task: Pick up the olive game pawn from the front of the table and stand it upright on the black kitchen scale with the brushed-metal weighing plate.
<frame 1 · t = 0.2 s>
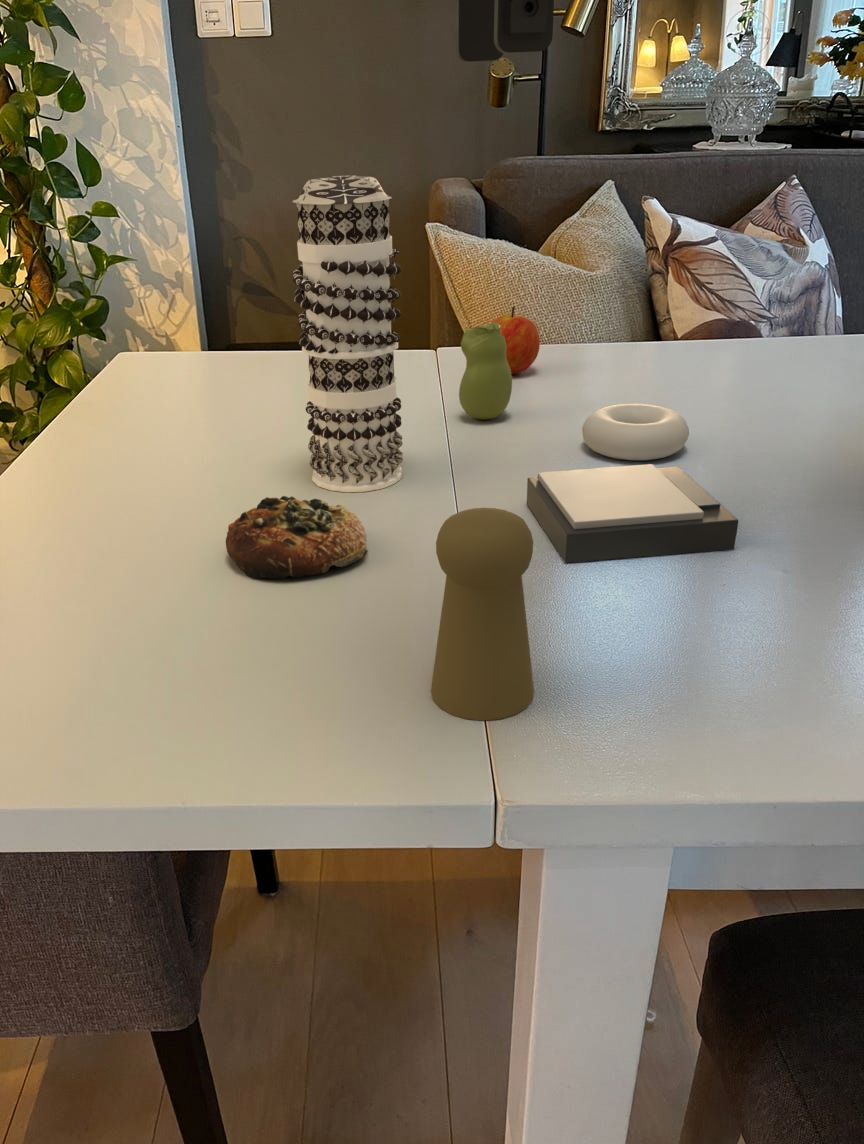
hand: (499, 57, 42), 32 cm above the table, tool pointing down, fingers open, 8 cm apart
donut: (633, 450, 92), on the table
scale: (624, 525, 76), on the table
olive game pawn: (482, 694, 56), on the table
fruit: (510, 374, 119), on the table
decorative candle: (358, 477, 88), on the table
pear: (484, 420, 103), on the table
bread roll: (299, 554, 74), on the table
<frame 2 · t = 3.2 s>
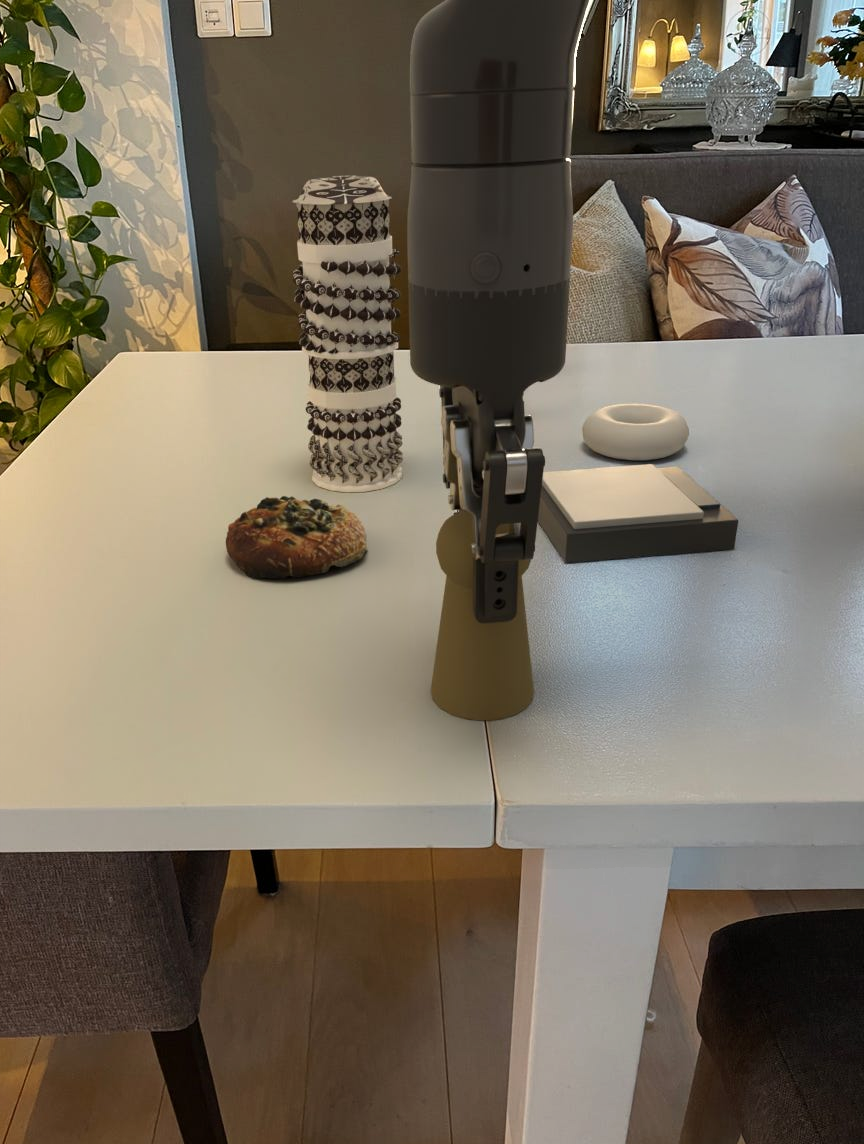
hand: (483, 593, 53), 6 cm above the table, tool pointing down, fingers closed on olive game pawn, 5 cm apart
olive game pawn: (482, 693, 56), on the table, touching gripper
everything else where it was.
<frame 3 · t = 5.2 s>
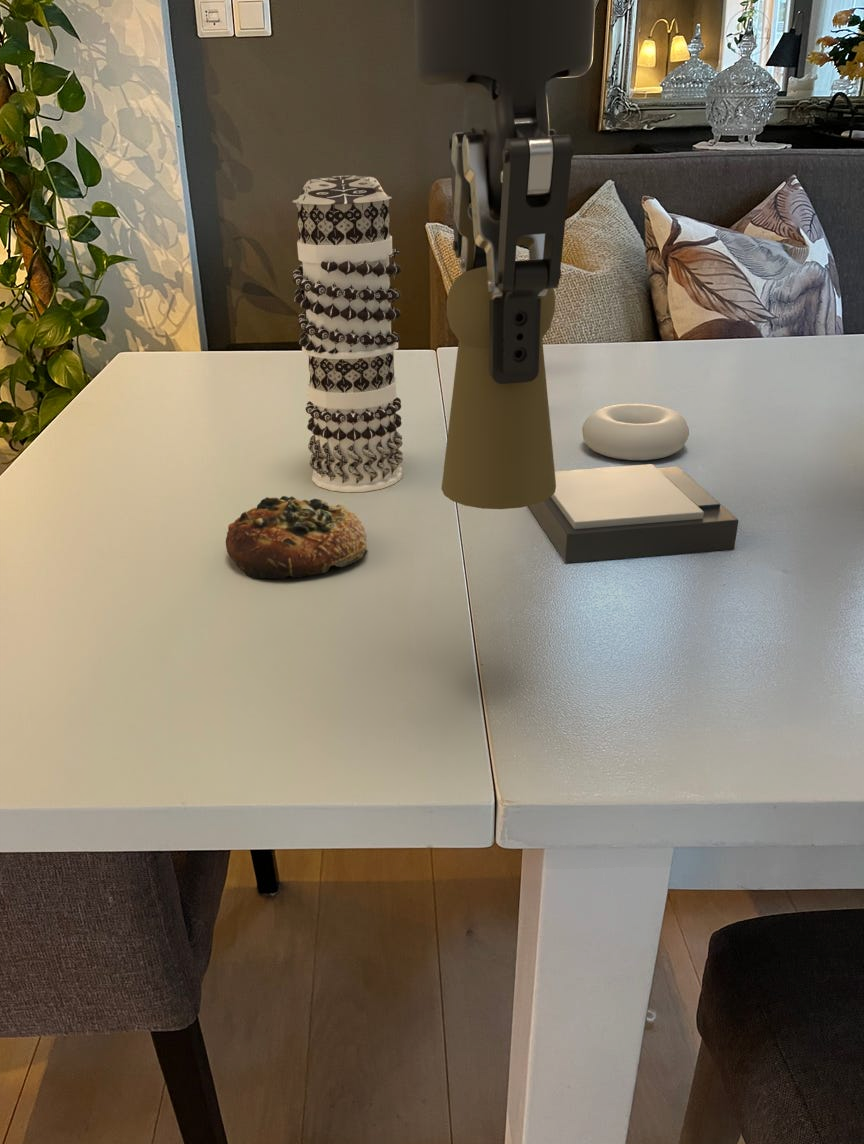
hand: (500, 364, 47), 19 cm above the table, tool pointing down, fingers closed on olive game pawn, 5 cm apart
olive game pawn: (498, 490, 51), point 12 cm above the table, touching gripper
everything else where it was.
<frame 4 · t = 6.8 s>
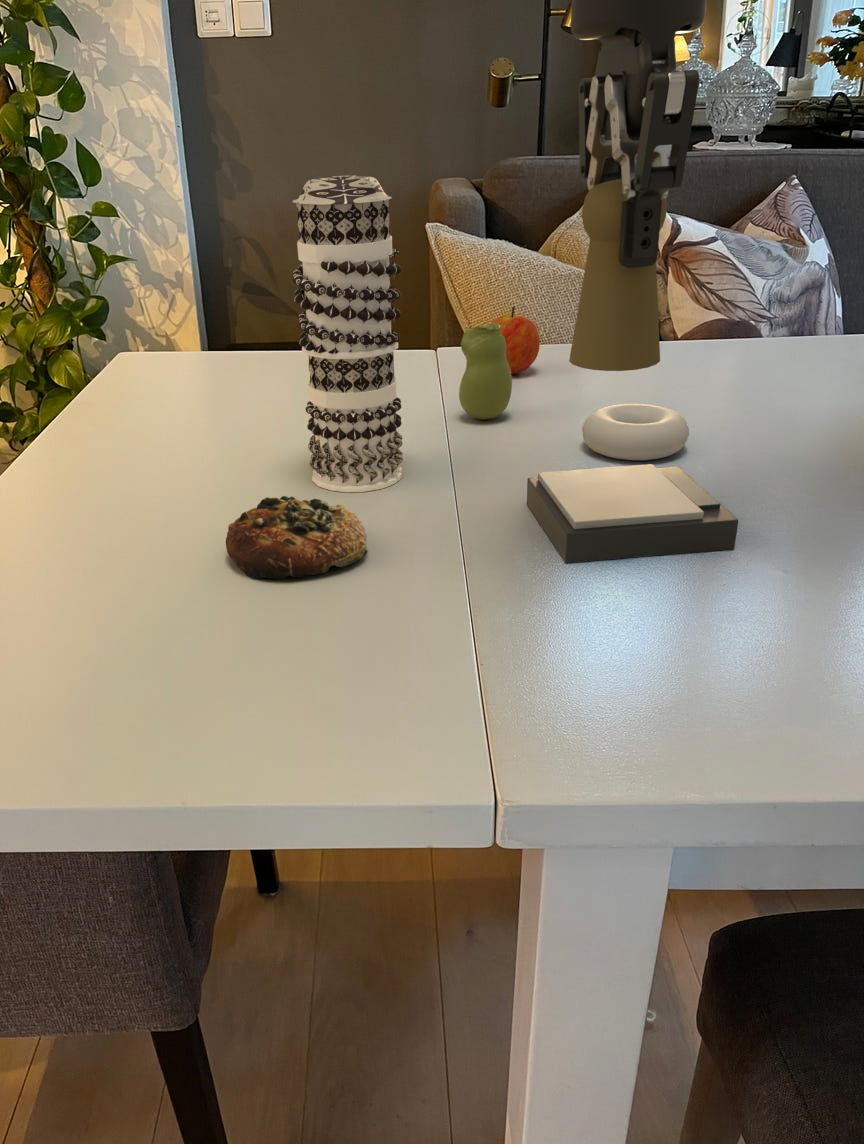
hand: (621, 258, 61), 21 cm above the table, tool pointing down, fingers closed on olive game pawn, 5 cm apart
olive game pawn: (614, 362, 65), point 14 cm above the table, touching gripper
everything else where it was.
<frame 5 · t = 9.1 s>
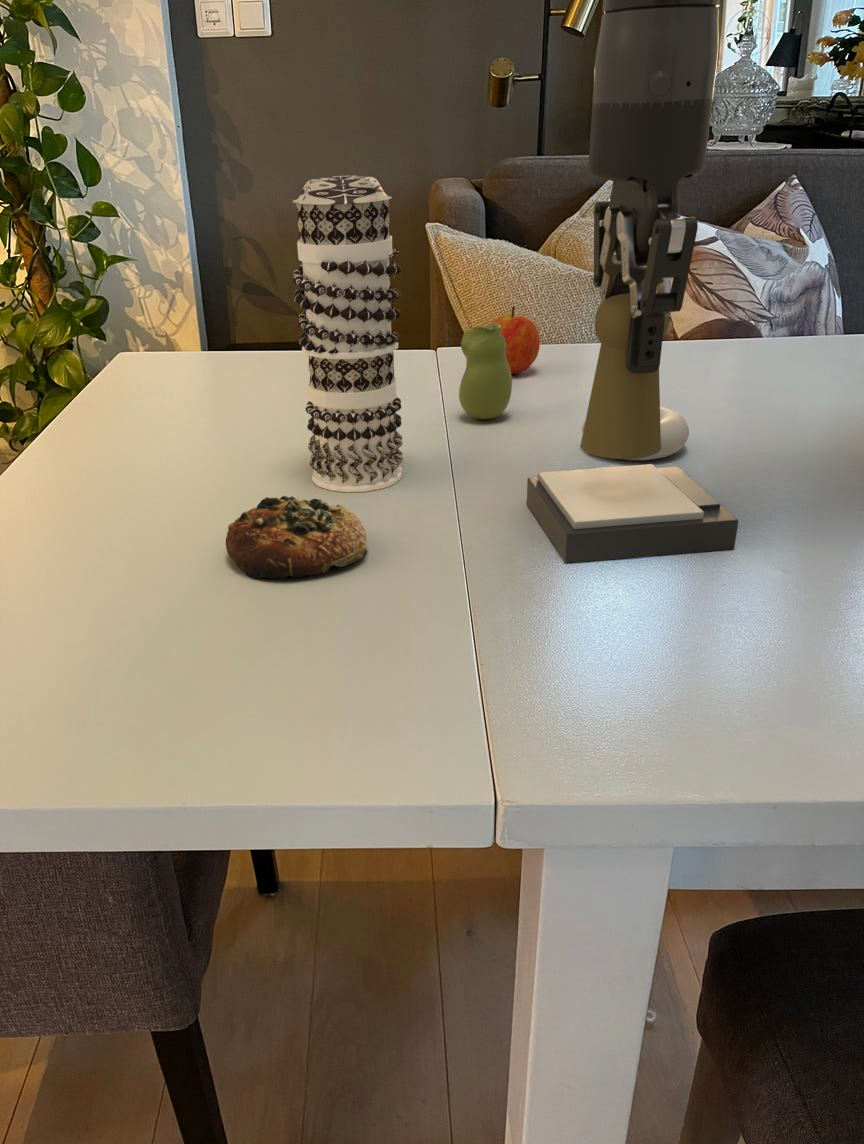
hand: (628, 361, 70), 13 cm above the table, tool pointing down, fingers closed on olive game pawn, 5 cm apart
olive game pawn: (620, 448, 73), point 6 cm above the table, touching gripper
everything else where it was.
when the fingers open (9 cm above the table, at t = 10.6 s): olive game pawn stays where it is, resting on scale.
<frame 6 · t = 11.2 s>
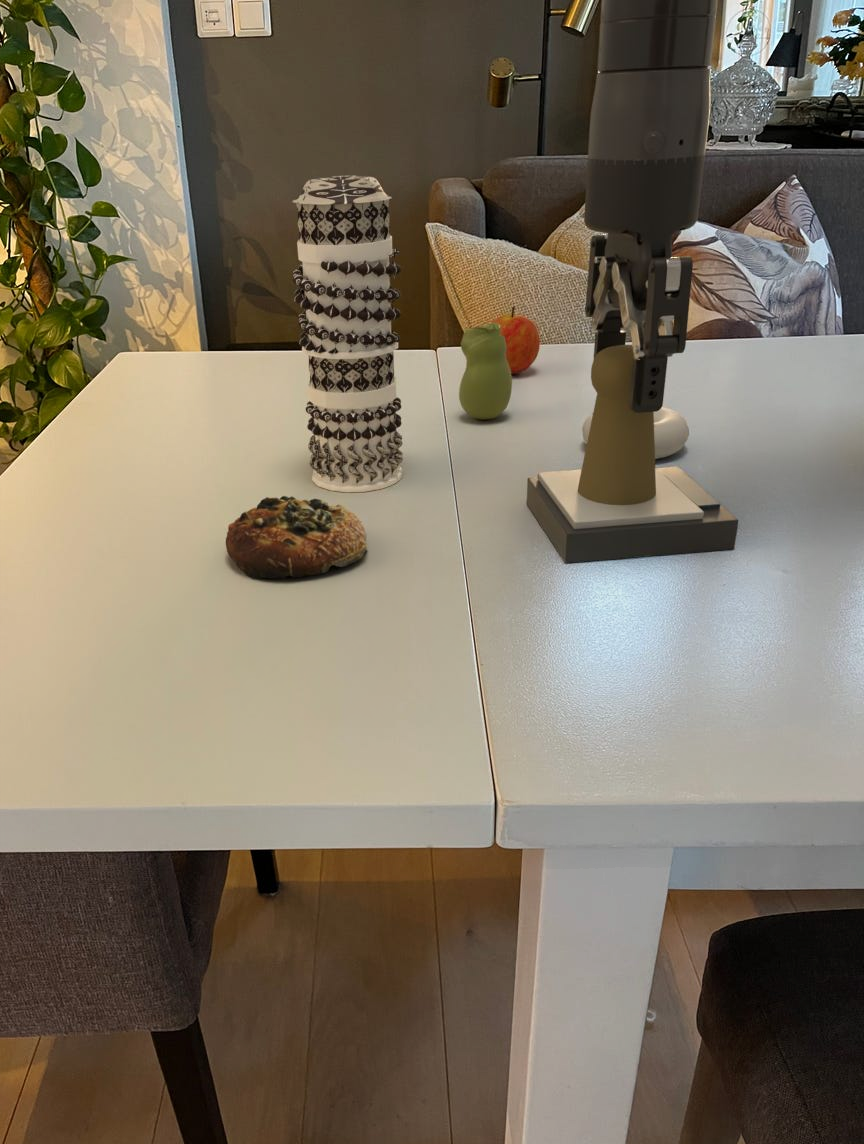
hand: (625, 394, 71), 11 cm above the table, tool pointing down, fingers open, 8 cm apart
olive game pawn: (616, 493, 75), point 3 cm above the table, touching scale
everything else where it was.
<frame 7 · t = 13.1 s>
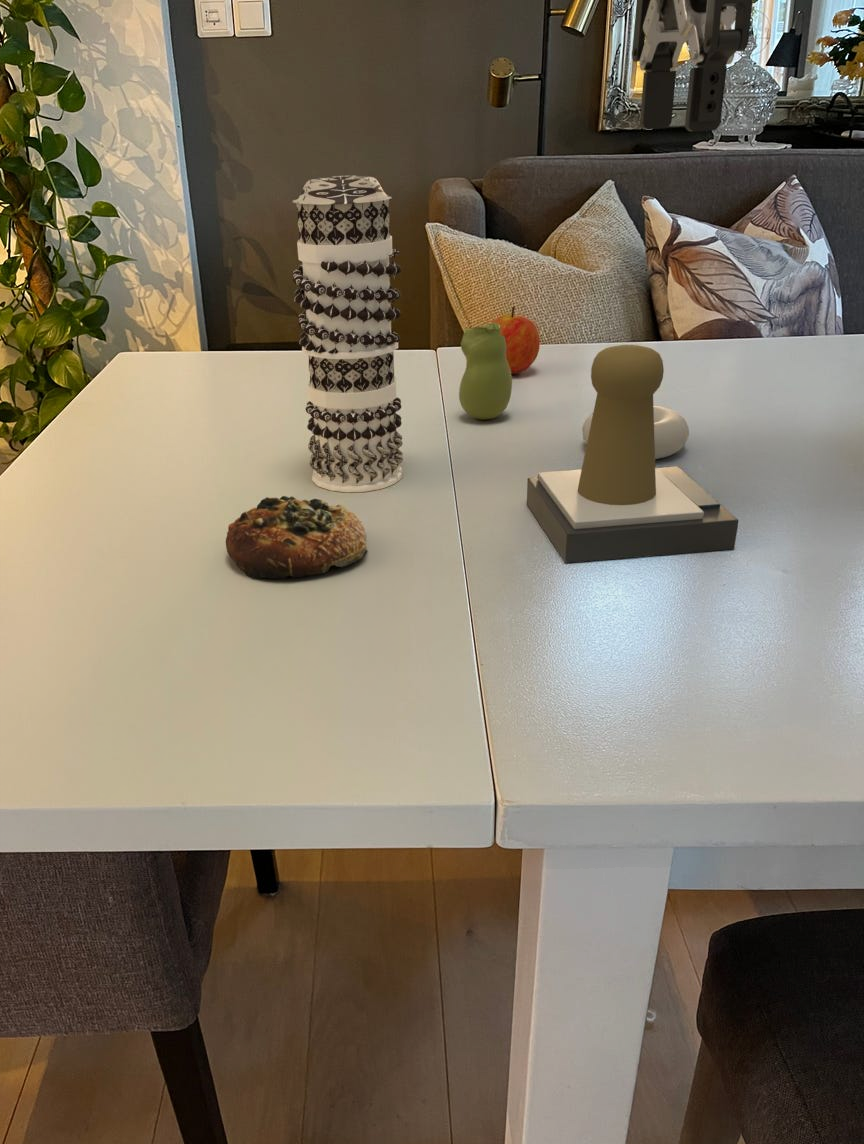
hand: (677, 129, 68), 28 cm above the table, tool pointing down, fingers open, 8 cm apart
nothing on the table moved.
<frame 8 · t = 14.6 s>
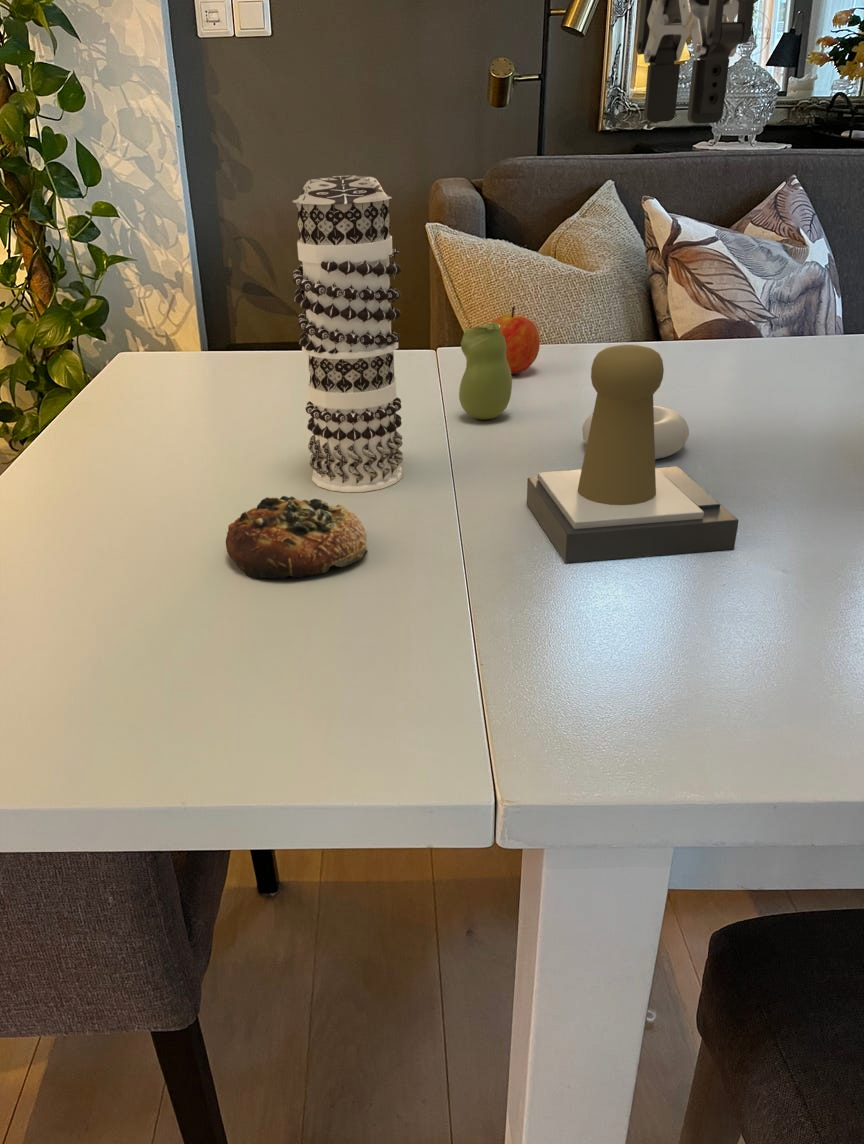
hand: (680, 122, 69), 28 cm above the table, tool pointing down, fingers open, 8 cm apart
nothing on the table moved.
at the end: olive game pawn inside the target area on the scale (0.2 cm from its centre), point 2.8 cm above the scale's base; olive game pawn tilted 0°; the gripper is holding nothing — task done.
